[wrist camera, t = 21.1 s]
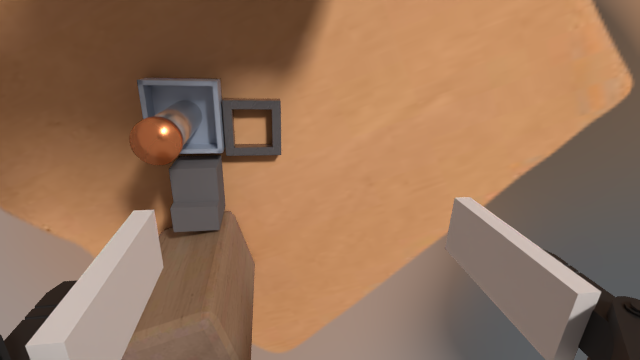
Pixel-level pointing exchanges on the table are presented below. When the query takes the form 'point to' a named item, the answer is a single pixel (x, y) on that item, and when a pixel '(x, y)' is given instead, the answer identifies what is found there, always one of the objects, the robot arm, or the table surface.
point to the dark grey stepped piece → (197, 193)
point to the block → (199, 298)
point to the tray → (199, 91)
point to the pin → (165, 133)
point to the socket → (251, 149)
